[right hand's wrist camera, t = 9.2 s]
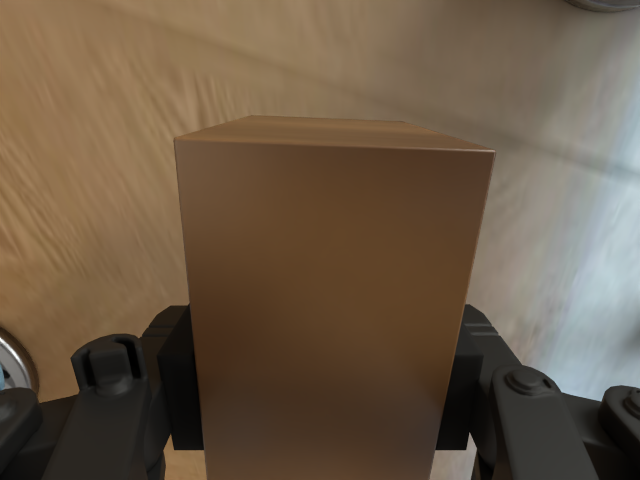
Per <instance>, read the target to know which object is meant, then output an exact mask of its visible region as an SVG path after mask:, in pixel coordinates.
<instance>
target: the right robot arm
mask: <svg viewBox="0 0 640 480" xmlns="http://www.w3.org/2000/svg"><path fill="white" fill-rule="evenodd" d="M565 1H567V2H569V3H571V4H573V5H575V6H577V7H580V8H583V9H587V10H591V11H598V12H616V11H624V10H628V9H632V8H636V7H639V6H640V0H565ZM71 362H72V365H73V369H74V372H75V376H76V379H77V383H78V386H79V390H80V391H79V394H77V395H74V396H70V397H65V398H61V399H56V400H52V401H47V402H43V403H39V401H38V398H37V395H36V393H35V392H34V391H33V390H31V389H30V388H23V387H16V388H9V389H4V390H1V391H0V480H164V477H165V468H166V464H165V457H164V452H163V450H164V447H165V445H166V443H167V441H168V438H169V436H170V434H171V436H172V441H173V447H174V450H204V443H203V433H202V423H201V413H200V403H199V392H198V382H197V372H196V362H195V352H194V342H193V332H192V322H191V311H190V303H189V305H188V306H169V307H168V308H166V309H165V310H163V311H162V312H160V313H159V314H158V315H156V317H155V318H154V319H153V321H152V322H151V323H150V325H149V328H147V329H146V330H145V332H144V333H143V334H142V337H140V338H137V337H136V336H134V335H130V334H112V335H108V336H104V337H100V338H98V339H96V340H93V341H91V342H89V343H87V344H85V345H84V346H82V347H81V348H79V349H78V350H77V351H76V352H75V353H74V354H73V356H72V357H71ZM469 432H470V434H471V436H472V438H473V440H474V443H475V445H476V447H477V452H476V457H475V462H474V466H473V471H472V476H471V480H640V389H639V388H636V387H629V386H622V385H621V386H613V387H610V388H609V389H608V390H606V391H605V393H604V396H603V399H602V402H600V401H596V400H591V399H587V398H582V397H578V396H573V395H569V394H565V393H562V392H561V391H560V389H559V388H558V386H557V385H556V383H555V382H554V381H553V380H552V379H550V378H549V377H548V376H546V375H545V374H544V373H542V372H540V371H538V370H536V369H534V368H531V367H528V366H524V365H522V364H521V363H520V361H519V360H518V359H517V357H516V356H515V355H514V353H513V352H512V351H511V349H510V348H509V347H508V346H507V344H506V343H505V342H504V340H503V339H502V338H501V336H499V335H498V332H497V331H496V330H495V328H494V327H492V324H491V323H490V322H489V320H488V319H487V318H486V316H485V315H484V314H483V313H482V312H480V311H479V310H477V309H476V308H474V307H473V306H471V305H470V304H465V307H464V312H463V316H462V321H461V326H460V331H459V336H458V341H457V346H456V351H455V355H454V360H453V365H452V370H451V375H450V380H449V385H448V390H447V395H446V399H445V404H444V409H443V414H442V419H441V424H440V429H439V434H438V439H437V443H436V448H435V450H466V448H467V443H468V437H469Z"/></svg>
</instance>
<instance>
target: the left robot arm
mask: <svg viewBox="0 0 640 480" xmlns="http://www.w3.org/2000/svg"><path fill="white" fill-rule="evenodd" d="M16 387H23V388H30V389H31V390H33V391H34V392H35V393H36V395H38V391H39V379H38V374H37V371H36V368H35V365H34V363H33V361H32V359H31V357H30V356H29V354H28V353H27V351H26V350H25V349H24V347H23V346H22V345H21V344H20V343H19V342H18V341H17V340H16V339H15V338H14V337H13V336H12V335H11V334H10V333H8V332H7V331H6V330H5V329H3V328H2V327H0V391H1V390H4V389H9V388H16Z"/></svg>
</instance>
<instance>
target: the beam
mask: <svg viewBox="0 0 640 480" xmlns="http://www.w3.org/2000/svg"><path fill="white" fill-rule="evenodd" d="M174 149H175V159H176V170H177V180H178V190H179V200H180V210H181V220H182V230H183V240H184V251H185V261H186V271H187V281H188V291H189V301H190V311H191V322H192V332H193V342H194V352H195V362H196V372H197V382H198V392H199V403H200V413H201V423H202V433H203V443H204V453H205V463H206V473H207V480H429V478H430V473H431V468H432V463H433V458H434V453H435V448H436V443H437V439H438V434H439V429H440V424H441V419H442V414H443V409H444V404H445V399H446V395H447V390H448V385H449V380H450V375H451V370H452V365H453V360H454V355H455V351H456V346H457V341H458V336H459V331H460V326H461V321H462V316H463V312H464V307H465V302H466V297H467V292H468V287H469V282H470V277H471V272H472V268H473V263H474V258H475V253H476V248H477V243H478V238H479V233H480V228H481V224H482V219H483V214H484V209H485V204H486V199H487V194H488V189H489V184H490V180H491V175H492V170H493V165H494V160H495V155H496V151H495V150H493V149H489V148H486V147H483V146H480V145H476V144H473V143H470V142H467V141H464V140H460V139H457V138H454V137H451V136H447V135H444V134H441V133H438V132H434V131H431V130H428V129H425V128H421V127H418V126H415V125H412V124H409V123H405V122H401V121H377V120H352V119H328V118H303V117H279V116H254V115H251V116H247V117H244V118H240V119H237V120H233V121H230V122H227V123H223V124H220V125H216V126H213V127H210V128H206V129H203V130H199V131H196V132H192V133H189V134H186V135H182V136H179V137H176V138H174Z"/></svg>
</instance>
